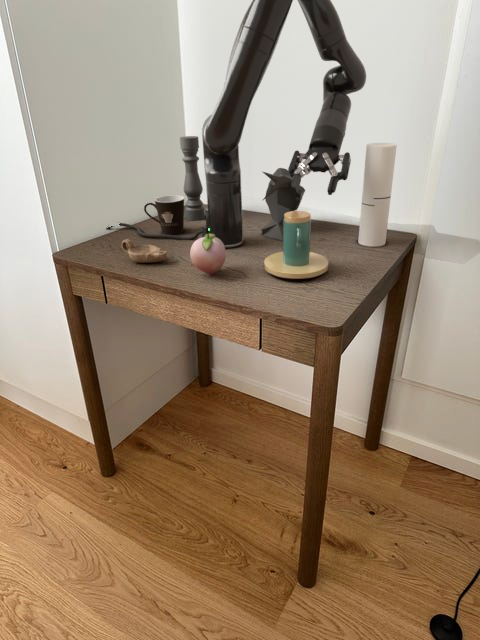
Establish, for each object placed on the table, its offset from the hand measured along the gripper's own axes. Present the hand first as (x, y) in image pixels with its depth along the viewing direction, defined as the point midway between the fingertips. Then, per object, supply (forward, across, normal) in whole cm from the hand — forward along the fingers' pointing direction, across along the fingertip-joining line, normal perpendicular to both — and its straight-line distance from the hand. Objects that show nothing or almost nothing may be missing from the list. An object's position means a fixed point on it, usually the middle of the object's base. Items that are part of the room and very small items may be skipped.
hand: (311, 191), depth 109 cm
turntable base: (+19, 0, +4) cm, 19 cm away
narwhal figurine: (-2, -15, +25) cm, 29 cm away
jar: (+18, 0, +4) cm, 18 cm away
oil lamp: (+24, -38, -1) cm, 45 cm away
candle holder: (-3, -46, +27) cm, 54 cm away
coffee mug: (+8, -46, +16) cm, 50 cm away
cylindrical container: (0, +12, +23) cm, 26 cm away
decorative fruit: (+26, -18, -2) cm, 31 cm away
